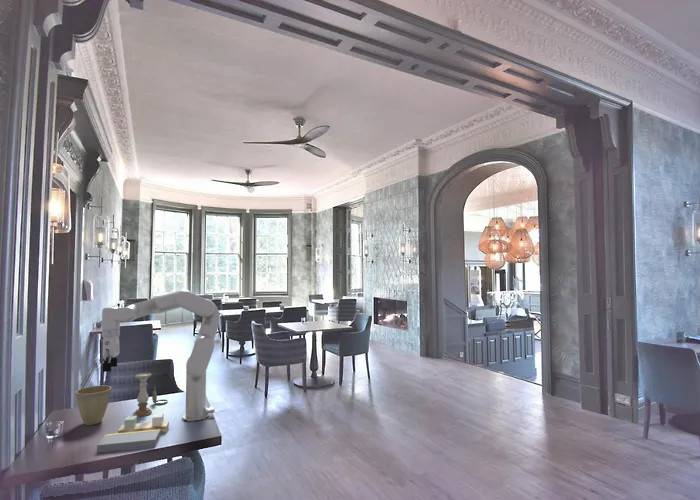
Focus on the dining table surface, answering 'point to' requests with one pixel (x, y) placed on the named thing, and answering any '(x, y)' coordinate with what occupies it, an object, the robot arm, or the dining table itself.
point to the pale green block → (130, 422)
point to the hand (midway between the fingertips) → (110, 369)
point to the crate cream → (157, 419)
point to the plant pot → (93, 403)
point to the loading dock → (128, 440)
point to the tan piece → (146, 427)
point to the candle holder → (142, 396)
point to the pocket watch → (154, 398)
